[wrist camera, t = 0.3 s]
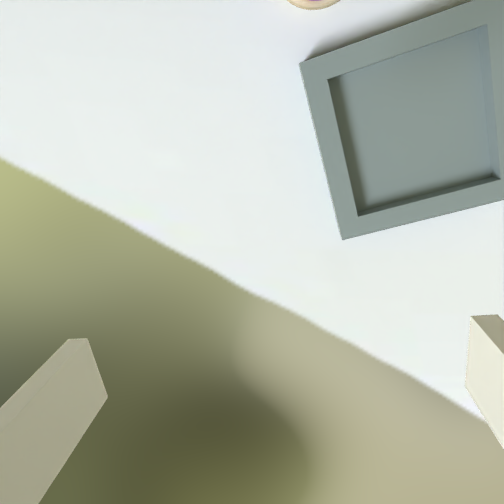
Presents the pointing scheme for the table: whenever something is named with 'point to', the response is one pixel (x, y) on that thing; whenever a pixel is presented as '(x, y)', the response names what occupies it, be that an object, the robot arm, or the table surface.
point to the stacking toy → (313, 4)
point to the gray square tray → (412, 119)
